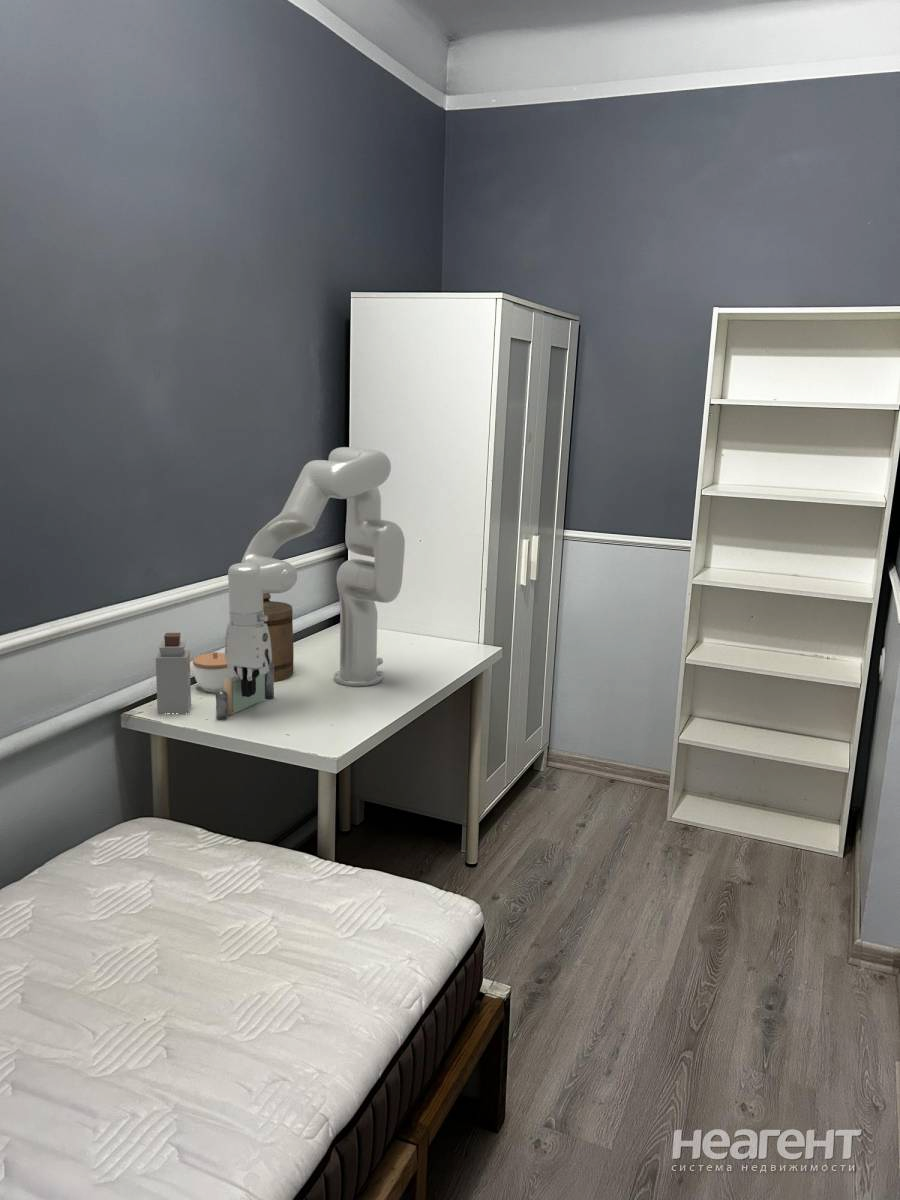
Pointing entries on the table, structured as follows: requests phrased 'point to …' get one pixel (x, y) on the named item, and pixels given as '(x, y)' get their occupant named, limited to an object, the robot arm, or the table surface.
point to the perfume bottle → (173, 676)
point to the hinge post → (269, 683)
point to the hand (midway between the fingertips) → (248, 695)
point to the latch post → (221, 705)
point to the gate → (235, 694)
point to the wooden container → (280, 636)
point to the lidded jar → (212, 671)
